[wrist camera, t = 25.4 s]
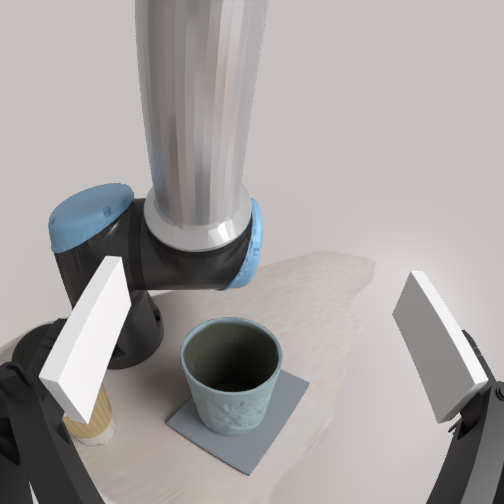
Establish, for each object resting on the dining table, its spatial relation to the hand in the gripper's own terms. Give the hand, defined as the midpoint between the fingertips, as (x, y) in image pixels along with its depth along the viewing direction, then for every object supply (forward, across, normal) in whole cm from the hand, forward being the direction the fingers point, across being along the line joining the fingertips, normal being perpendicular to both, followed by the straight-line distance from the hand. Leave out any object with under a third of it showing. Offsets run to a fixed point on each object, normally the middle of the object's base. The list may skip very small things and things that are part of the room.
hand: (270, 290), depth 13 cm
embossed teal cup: (+9, -2, -28) cm, 29 cm away
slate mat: (+10, 0, -28) cm, 30 cm away
